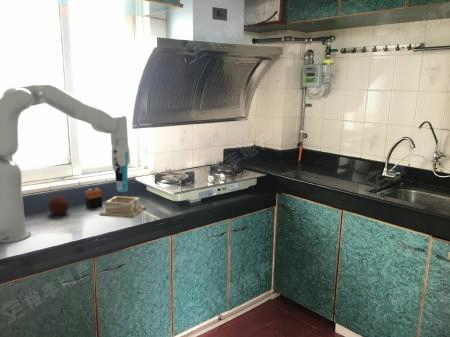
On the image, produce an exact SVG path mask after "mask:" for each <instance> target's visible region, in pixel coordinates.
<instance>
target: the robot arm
mask: <svg viewBox="0 0 450 337" xmlns="http://www.w3.org/2000/svg"><path fill="white" fill-rule="evenodd" d="M41 104H42V105H43V104H46V105H49V106H50V107H52V108H54V109H56V110H58V111H59V112H60V113H63V114H64V115H66V116H68V117H70V118H73V119H75V120H78V121H82V122H84V123H87V124H89V125H91V128H92V129H93V130H94V131H96V132H98V133H104V134H110V142H111V143H110V144H111V164H112V169H113V170H114V174H115V182H116V181H122V180H123V179H122V173H121V168H122V167H123V166H125V165H126V152H128V164H127V167H128V165H129V164H130V163H131V156H130V155H131V154H130V148H129V139H128V138H129V137H128V121H127V116H125V115H123V114H114V115H110V114H108V113H106V112H105V111H103V110H102V109H100V108H97V107H96V106H94V105H92V104H90V103H88V102H86V101H84V100H82V99H80V98H78V97H77V96H75V95H73V94H71V93H70V92H69V91H67V90H65V89H63V88H62V87H60V86H58V85H57V84H55V83H52V82H39V83H34V84H28V85H23V86H22V85H21V86H16V87H10V88H8V89H6V90H5V91H4V92H3V94H2V97H1V98H0V243H3V244H4V243H5V244H7V243H14V242H20V241H22V240H26V239H27V238H29V237H30V236H31V230H30V229H27V227H26V219H25V210H24V209H25V208H24V198H23V191H22V189H23V188H22V181H23V180H22V177H23V176H22V171H21V168H20V166H19V165H18V164H17V163H16V162H14V161H13V155H15V154H16V153H17V151H18V148H19V133H18V131H19V130H18V129H19V126H18V125H19V118H20V115H21V114H22V113H23V112H24V111H25V110H28V109H29V108H31V106H32V107H33V106H37V105H41ZM117 165H119V166H117ZM117 167H119V168H117Z"/></svg>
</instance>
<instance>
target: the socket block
mask: <svg viewBox="0 0 450 337" xmlns="http://www.w3.org/2000/svg"><path fill="white" fill-rule="evenodd" d="M145 209H146V205H141V198H140V197H137V196H121V195H120V196H119V195H115V196H113V197H112V198H110V199H108V200H106V201H105V202H104V210H103V211H100V213H98V214H99V216H100V217H101V216H102V217H104V216H105V217H117V218H127V219H128V218H131V219H133V218H135V217H136V216H137V215H139V214H140V213H141V212H143V211H145Z"/></svg>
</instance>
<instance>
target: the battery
mask: <svg viewBox="0 0 450 337" xmlns="http://www.w3.org/2000/svg"><path fill="white" fill-rule="evenodd" d="M84 192H85V194H84V195H85V196H84V197H85V205H86V206H85V207H86V209H88V210H90V211H91V210H95V209H99V208H103V194H102V189H100V188H99V187H95V188H87V190H85V191H84Z"/></svg>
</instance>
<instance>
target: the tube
mask: <svg viewBox="0 0 450 337" xmlns="http://www.w3.org/2000/svg"><path fill="white" fill-rule="evenodd" d="M127 164H128V152H126V165H125V166H123V167H122V168H121V173H122V179H123V180H122V181H116V180H115V183H116V190H117V192H119V193H125V192H128V191H129V189H128V188H129V186H128V184H129V182H128V179H129V178H128V166H127ZM128 165H129V164H128ZM117 166H119V165H117ZM117 168H119V167H117Z"/></svg>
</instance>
